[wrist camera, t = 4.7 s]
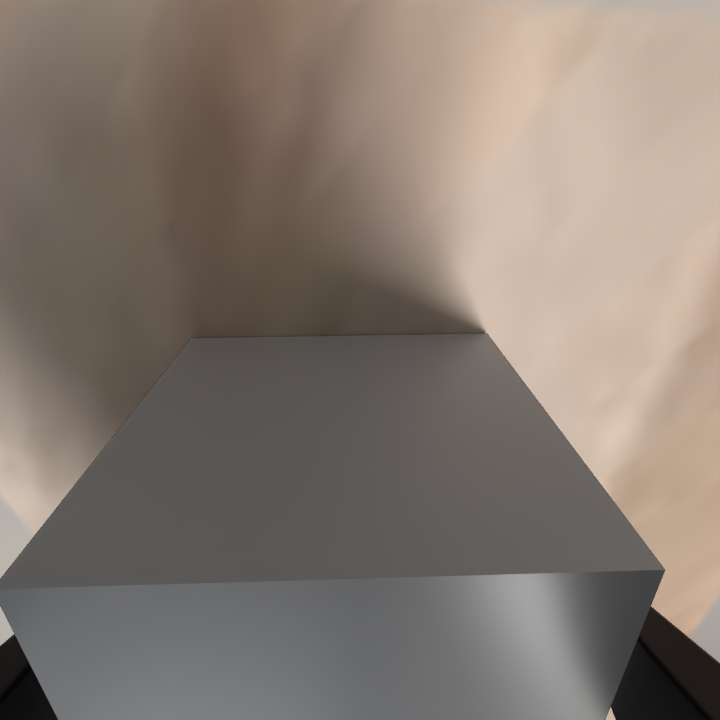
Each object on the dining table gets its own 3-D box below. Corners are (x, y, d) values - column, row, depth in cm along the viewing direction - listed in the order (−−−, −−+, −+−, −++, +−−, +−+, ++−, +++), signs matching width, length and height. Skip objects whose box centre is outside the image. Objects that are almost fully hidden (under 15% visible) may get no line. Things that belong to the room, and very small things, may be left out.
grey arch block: (460, 546, 13) (549, 857, 8) (229, 553, 13) (138, 876, 7) (486, 333, 11) (664, 569, 5) (191, 337, 10) (-8, 589, 5)
